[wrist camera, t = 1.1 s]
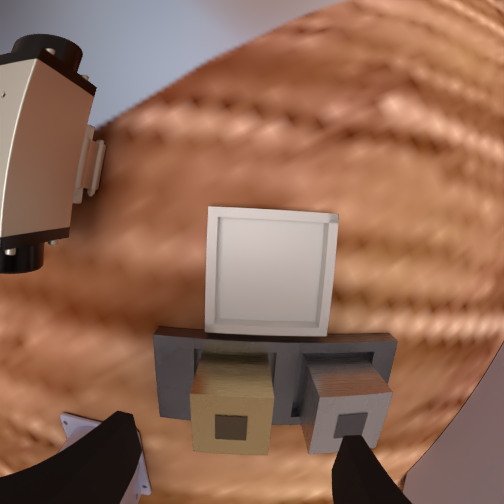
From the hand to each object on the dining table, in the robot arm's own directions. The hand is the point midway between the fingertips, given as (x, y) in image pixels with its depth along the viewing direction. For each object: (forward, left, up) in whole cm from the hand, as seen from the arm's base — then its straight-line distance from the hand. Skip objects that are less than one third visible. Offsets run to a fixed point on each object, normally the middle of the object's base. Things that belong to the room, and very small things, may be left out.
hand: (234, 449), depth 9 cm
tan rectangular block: (-4, 0, -12) cm, 13 cm away
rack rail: (-4, -3, -13) cm, 14 cm away
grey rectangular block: (-4, -7, -12) cm, 15 cm away
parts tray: (+4, -2, -13) cm, 13 cm away
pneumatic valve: (+11, +12, -13) cm, 21 cm away
